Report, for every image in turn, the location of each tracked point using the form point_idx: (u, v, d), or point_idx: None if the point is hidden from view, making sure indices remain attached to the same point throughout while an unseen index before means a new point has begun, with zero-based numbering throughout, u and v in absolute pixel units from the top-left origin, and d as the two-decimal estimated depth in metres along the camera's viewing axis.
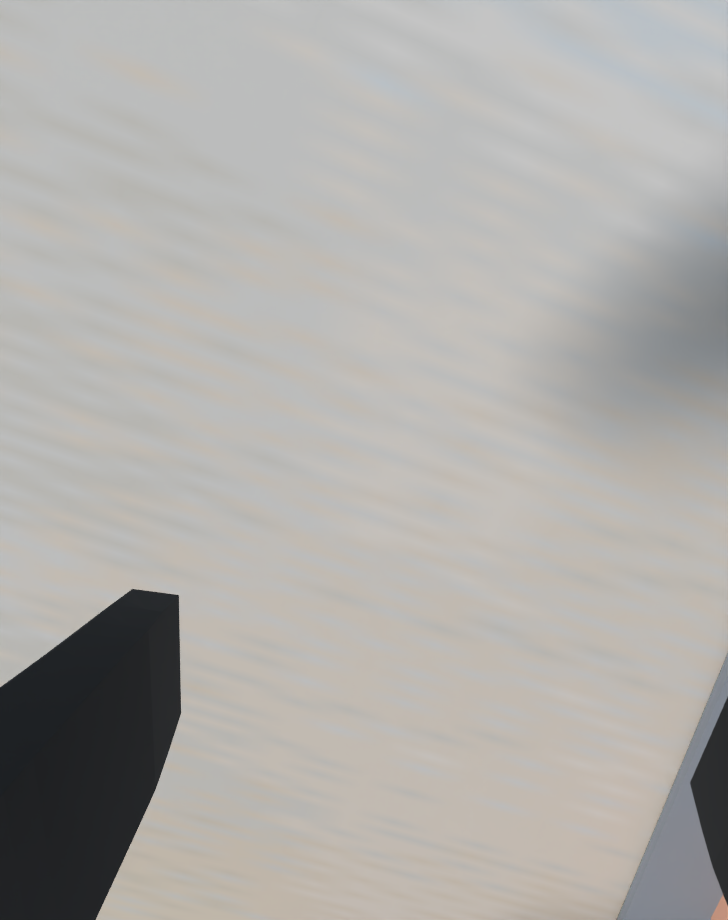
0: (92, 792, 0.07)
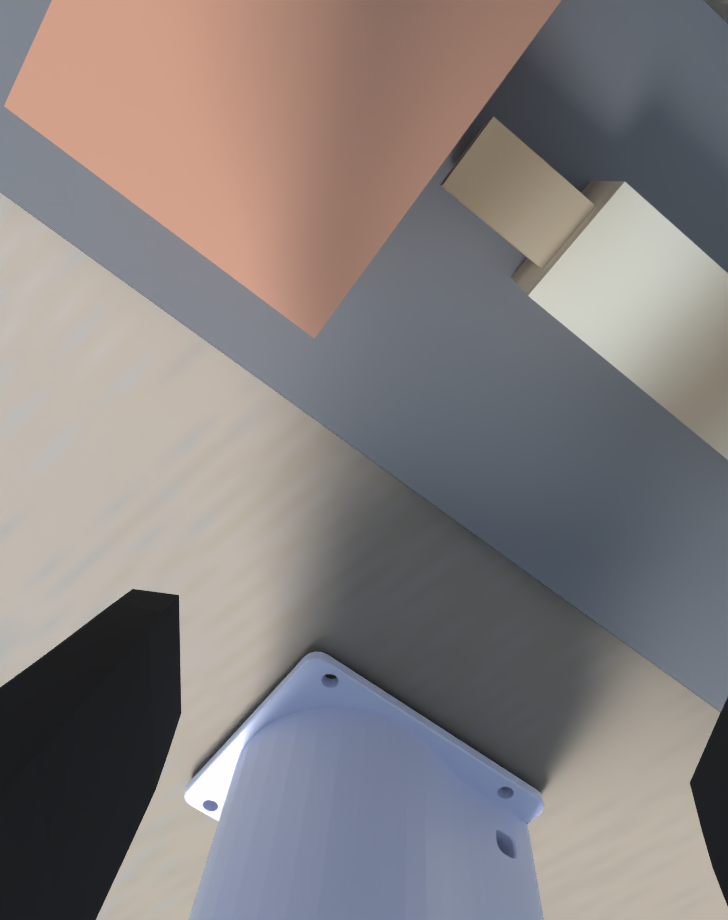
0: (92, 792, 0.07)
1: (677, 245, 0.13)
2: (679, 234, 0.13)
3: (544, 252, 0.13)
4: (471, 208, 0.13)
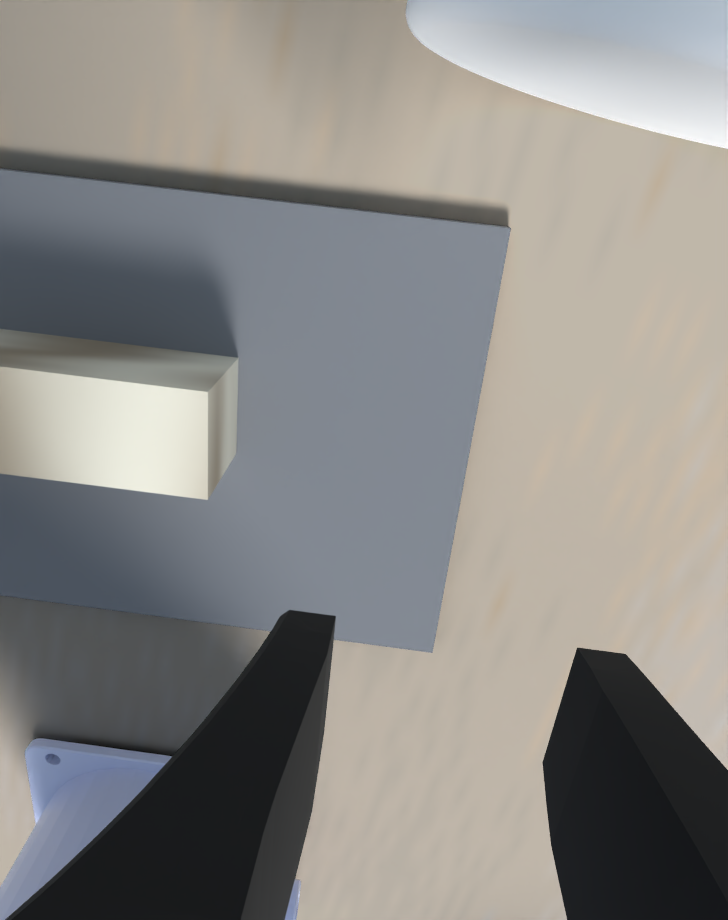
0: (290, 819, 0.07)
1: None
2: None
3: None
4: None
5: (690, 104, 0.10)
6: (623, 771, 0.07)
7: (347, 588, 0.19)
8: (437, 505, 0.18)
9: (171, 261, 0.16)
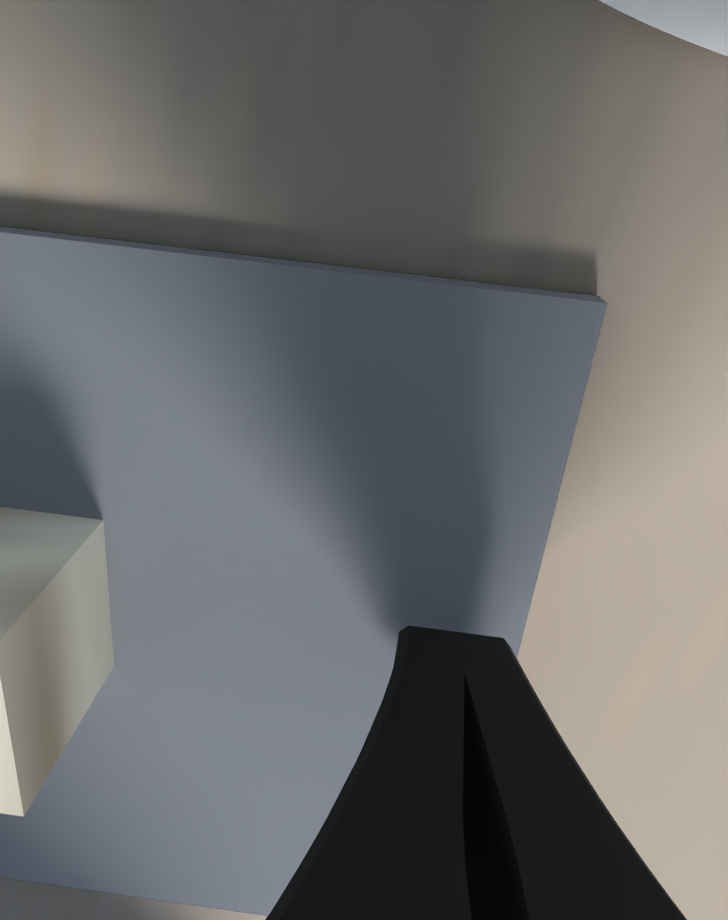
0: None
1: None
2: None
3: None
4: None
5: None
6: (471, 750, 0.07)
7: None
8: None
9: None
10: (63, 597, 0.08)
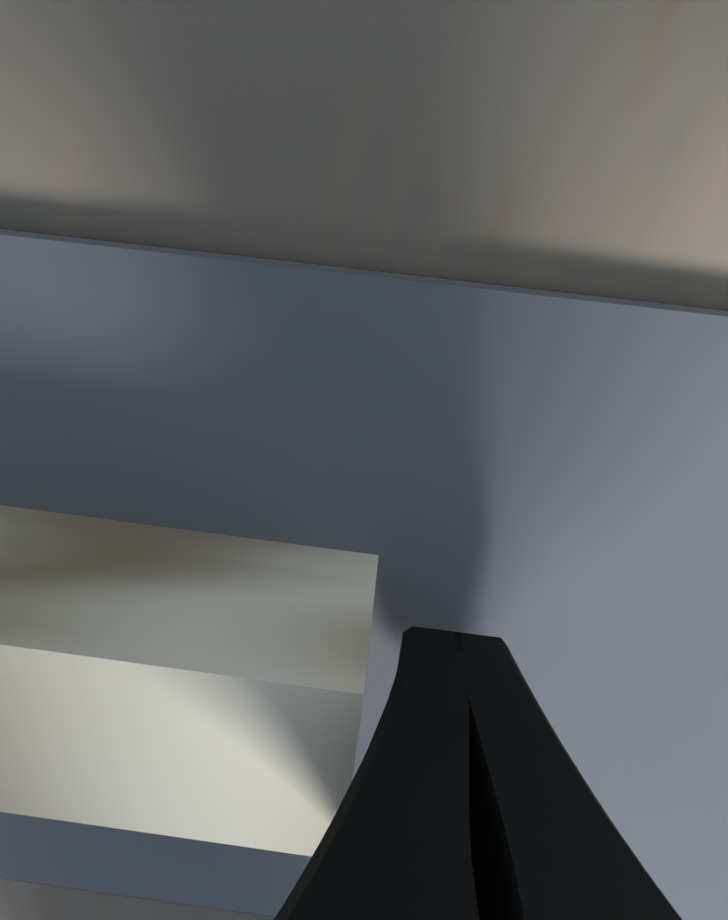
0: None
1: None
2: None
3: None
4: None
5: None
6: None
7: None
8: None
9: (389, 408, 0.08)
10: None
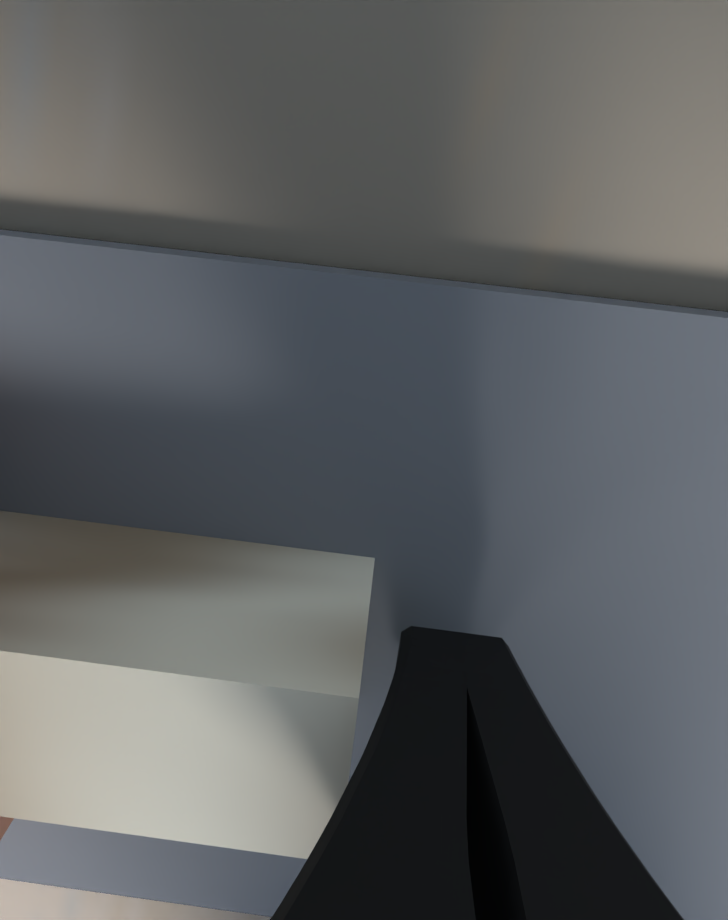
0: None
1: None
2: None
3: None
4: None
5: None
6: (469, 750, 0.07)
7: None
8: None
9: None
10: None
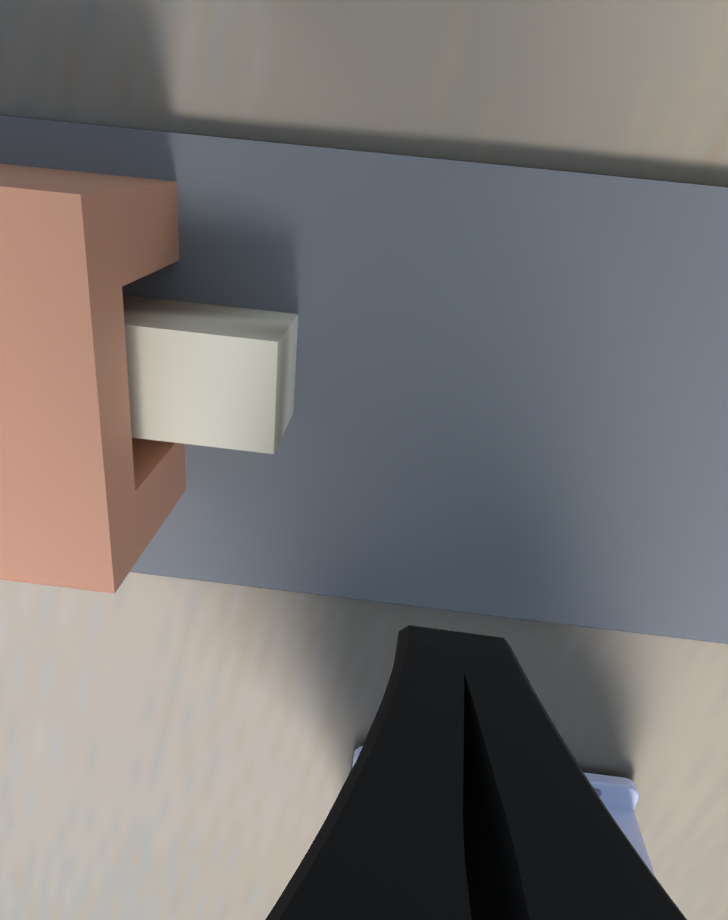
0: None
1: None
2: None
3: None
4: None
5: None
6: (472, 751, 0.07)
7: None
8: None
9: (649, 256, 0.15)
10: (288, 343, 0.15)
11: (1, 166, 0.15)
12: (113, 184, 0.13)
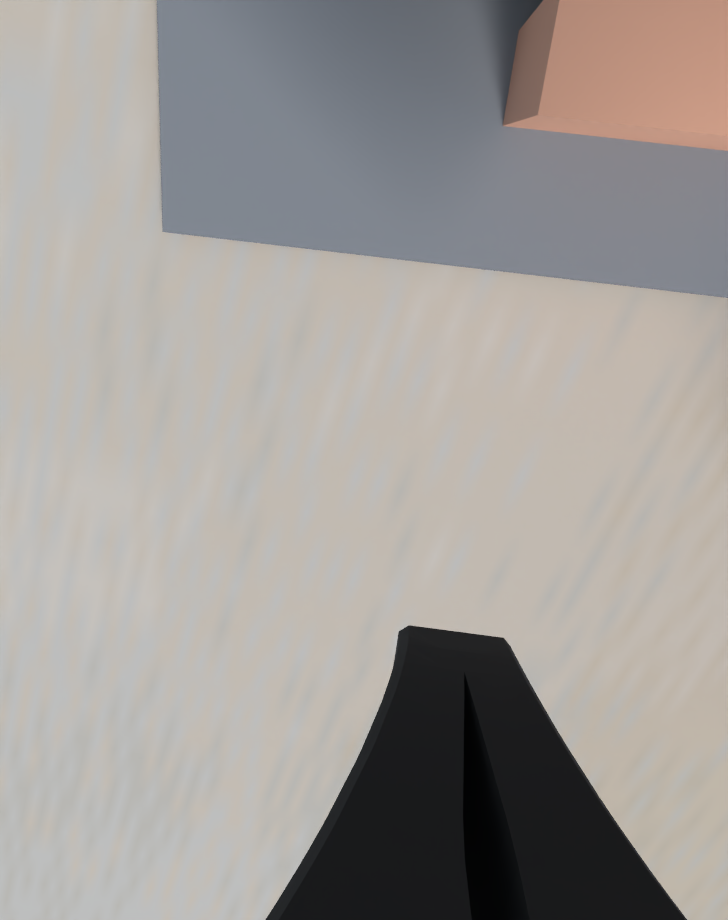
0: None
1: None
2: None
3: None
4: None
5: None
6: (471, 750, 0.07)
7: None
8: None
9: None
10: None
11: None
12: None
